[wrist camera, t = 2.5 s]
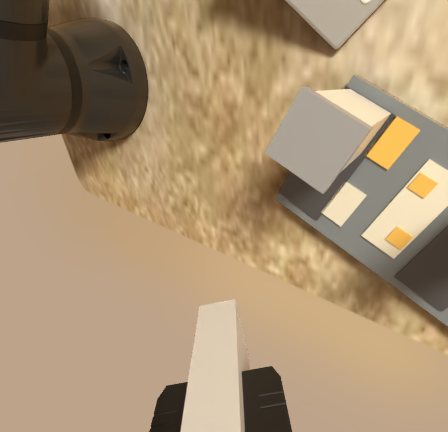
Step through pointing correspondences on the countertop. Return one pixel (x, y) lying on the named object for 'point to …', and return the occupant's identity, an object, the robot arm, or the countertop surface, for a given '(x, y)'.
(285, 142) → the slider
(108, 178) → the countertop surface
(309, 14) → the gray dial box
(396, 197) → the console
